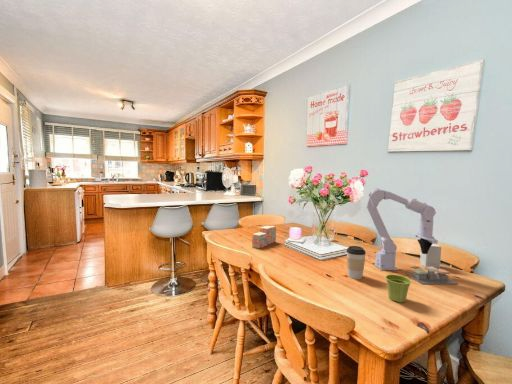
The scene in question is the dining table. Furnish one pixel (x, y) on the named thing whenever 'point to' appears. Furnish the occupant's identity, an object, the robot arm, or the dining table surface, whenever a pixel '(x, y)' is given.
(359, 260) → the coffee cup
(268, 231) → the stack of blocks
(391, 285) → the plant pot
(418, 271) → the key sage
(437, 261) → the supplement box
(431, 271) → the key cream
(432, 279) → the keypad base
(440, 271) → the key terracotta
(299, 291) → the dining table surface
